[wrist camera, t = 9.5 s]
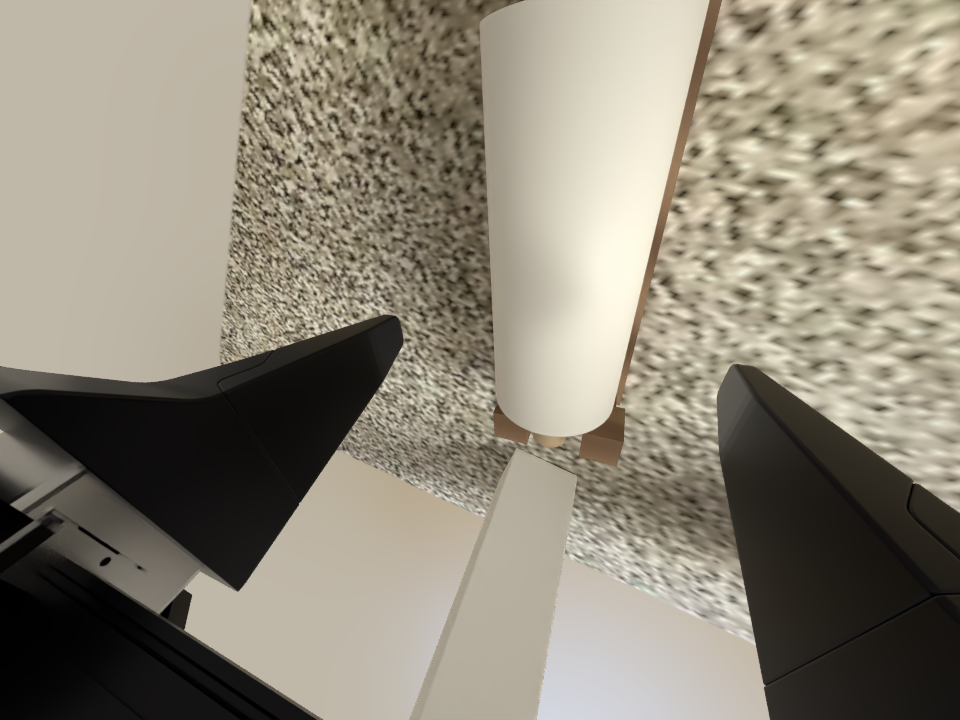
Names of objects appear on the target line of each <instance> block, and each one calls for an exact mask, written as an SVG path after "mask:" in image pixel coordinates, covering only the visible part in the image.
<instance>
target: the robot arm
mask: <svg viewBox="0 0 960 720" xmlns="http://www.w3.org/2000/svg"><path fill="white" fill-rule="evenodd" d="M403 341H404V339H403V334H402V330H401V325H400V321H399V319H398V317H396V316H393V315H381V316H378V317H375V318H372V319H369V320H366V321H363V322H359V323H356V324H353V325H350V326H347V327H344V328H340V329H337V330H334V331H331V332H328V333H325V334H322V335H318V336H315V337H312V338H309V339H306V340H303V341H300V342H296V343H293V344H290V345H287V346H284V347H281V348H278V349H276V350H271V351H268V352H265V353H262V354H258V355H255V356H252V357H249V358H245V359H242V360H239V361H235V362H232V363H228V364H225V365H221V366H217V367H214V368H210V369H207V370H203V371H199V372H195V373H192V374H189V375H185V376H181V377H177V378H174V379H169V380H165V381H158V382H147V383H143V382H141V383H140V382H127V381H118V380H109V379H100V378H91V377H82V376H73V375H64V374H54V373H46V372H37V371H29V370H21V369H14V368H7V367H2V366H0V429H1V430H2V431H4V432H3V433H1V434H0V720H323V719H321V718H320V717H318V716H316V715H315V714H313V713H311V712H310V711H309V710H307V709H305V708H304V707H302V706H301V705H299V704H298V703H296V702H295V701H293V700H292V699H290V698H288V697H287V696H285V695H284V694H282V693H281V692H279V691H278V690H276V689H275V688H273V687H271V686H270V685H268V684H266V683H265V682H264V681H262V680H261V679H259V678H257V677H256V676H254V675H253V674H251V673H250V672H248V671H247V670H245V669H243V668H242V667H240V666H239V665H237V664H236V663H234V662H233V661H231V660H229V659H228V658H226V657H225V656H223V655H222V654H220V653H218V652H217V651H215V650H214V649H212V648H210V647H209V646H208V645H206V644H205V643H203V642H201V641H200V640H198V639H197V638H195V637H194V636H192V635H190V634H189V633H187V632H186V631H184V629H185V625H186V620H187V615H188V611H189V607H190V602H191V598H192V595H191V594H190V593H189V592H187V591H186V590H184V588H185V587H186V586H187V585H188V584H189V583H190V582H191V580H192V579H193V578H194V577H195V576H196V575H197V574H198V573H199V572H202V573H204V574H206V575H208V576H210V577H211V578H213V579H215V580H217V581H219V582H221V583H222V584H224V585H226V586H228V587H230V588H232V589H233V590H235V591H239V590H240V589H241V588H242V587H243V585H244V584H245V583H246V582H247V580H248V579H249V577H250V576H251V574H252V573H253V571H254V570H255V568H256V567H257V566H258V564H259V562H260V561H261V559H262V558H263V557H264V555H265V554H266V552H267V551H268V549H269V548H270V546H271V545H272V544H273V542H274V541H275V539H276V538H277V536H278V535H279V533H280V532H281V530H282V529H283V527H284V526H285V525H286V523H287V522H288V520H289V518H290V517H291V516H292V514H293V513H294V511H295V510H296V509H297V507H298V506H299V503H300V502H301V501H302V499H303V498H304V496H305V495H306V494H307V492H308V491H309V489H310V487H311V486H312V485H313V483H314V482H315V480H316V479H317V477H318V476H319V474H320V473H321V472H322V470H323V469H324V467H325V466H326V464H327V463H328V461H329V460H330V458H331V457H332V456H333V454H334V453H335V451H336V450H337V448H338V447H339V445H340V444H341V442H342V441H343V440H344V438H345V437H346V435H347V434H348V432H349V431H350V429H351V428H352V426H353V425H354V424H355V422H356V421H357V419H358V418H359V416H360V415H361V413H362V412H363V410H364V409H365V407H366V406H367V405H368V403H369V402H370V400H371V399H372V397H373V396H374V394H375V393H376V391H377V390H378V388H379V387H380V385H381V384H382V382H383V381H384V379H385V377H386V375H387V374H388V372H389V370H390V368H391V366H392V364H393V362H394V361H395V359H396V357H397V355H398V353H399V351H400V349H401V348H402V345H403ZM717 415H718V438H719V454H720V461H721V467H722V472H723V477H724V482H725V487H726V493H727V498H728V503H729V508H730V513H731V518H732V524H733V529H734V534H735V539H736V544H737V549H738V555H739V560H740V565H741V570H742V575H743V581H744V586H745V591H746V596H747V601H748V606H749V612H750V617H751V622H752V627H753V632H754V637H755V643H756V648H757V652H758V658H759V663H760V668H761V674H762V679H763V683H764V685H766V686H765V687H764V690H765V696H766V701H767V706H768V711H769V717H770V720H960V513H959V512H957V511H956V510H955V509H953V508H952V507H950V506H949V505H947V504H946V503H944V502H943V501H942V500H940V499H939V498H938V497H936V496H935V495H933V494H932V493H931V492H929V491H928V490H926V489H925V488H924V487H922V486H921V485H919V484H916V483H915V484H913V480H912V479H911V478H910V477H908V476H907V475H905V474H904V473H903V472H901V471H900V470H898V469H897V468H896V467H894V466H893V465H891V464H890V463H889V462H887V461H886V460H884V459H883V458H882V457H880V456H879V455H877V454H876V453H875V452H873V451H872V450H870V449H869V448H868V447H866V446H865V445H863V444H862V443H861V442H859V441H858V440H856V439H855V438H854V437H852V436H851V435H849V434H848V433H847V432H845V431H844V430H842V429H841V428H840V427H838V426H837V425H835V424H834V423H833V422H831V421H830V420H828V419H827V418H826V417H824V416H823V415H822V414H820V413H819V412H817V411H816V410H815V409H813V408H812V407H810V406H809V405H808V404H806V403H805V402H803V401H802V400H801V399H799V398H798V397H796V396H795V395H794V394H792V393H791V392H789V391H788V390H787V389H785V388H784V387H782V386H781V385H780V384H778V383H777V382H775V381H774V380H773V379H771V378H770V377H768V376H767V375H766V374H764V373H763V372H761V371H760V370H759V369H757V368H756V367H753V366H748V365H741V364H733V365H732V366H731V367H730V368H729V370H728V372H727V374H726V376H725V378H724V380H723V382H722V384H721V387H720V389H719V391H718V395H717Z"/></svg>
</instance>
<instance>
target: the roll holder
mask: <svg viewBox="0 0 960 720" xmlns="http://www.w3.org/2000/svg"><path fill="white" fill-rule="evenodd" d="M521 1H524V0H521ZM721 2H722V0H710V1H709V5H708V9H707V13H706V18H705V22H704V26H703V30H702V35H701V39H700V43H699V47H698V51H697V56H696V60H695V64H694V68H693V73H692V77H691V81H690V85H689V89H688V94H687V98H686V102H685V106H684V111H683V115H682V119H681V123H680V127H679V132H678V136H677V140H676V144H675V149H674V153H673V157H672V161H671V165H670V170H669V174H668V178H667V182H666V187H665V191H664V195H663V199H662V203H661V208H660V212H659V216H658V220H657V225H656V229H655V233H654V237H653V241H652V246H651V250H650V254H649V258H648V263H647V267H646V271H645V275H644V279H643V284H642V288H641V292H640V296H639V301H638V305H637V309H636V313H635V317H634V322H633V326H632V330H631V334H630V339H629V343H628V347H627V351H626V355H625V360H624V364H623V368H622V372H621V377H620V381H619V385H618V389H617V393H616V398H615V402H614V406H613V410H612V412H611V414H610V416H609V418H608V419H607V420H606V421H605V422H604V423H603V424H602V425H600V426H599V427H597V428H596V429H594V430H592V431H589V432H587V433H584V434H583V436H582V441H581V447H580V453H579V457H581V458H585V459H589V460H593V461H597V462H601V463H605V464H609V465H613V466H617V463H618V459H619V456H620V453H621V449H622V446H623V442H624V423H625V409H624V408H619V407H616V405H620V402H621V398H622V394H623V390H624V386H625V382H626V378H627V374H628V370H629V366H630V362H631V358H632V354H633V350H634V346H635V343H636V339H637V335H638V331H639V327H640V323H641V319H642V315H643V311H644V307H645V303H646V299H647V295H648V291H649V287H650V283H651V279H652V275H653V271H654V267H655V263H656V259H657V255H658V251H659V247H660V244H661V240H662V236H663V232H664V228H665V224H666V220H667V216H668V212H669V208H670V204H671V200H672V196H673V192H674V188H675V184H676V180H677V176H678V172H679V168H680V164H681V160H682V156H683V152H684V148H685V145H686V141H687V137H688V133H689V129H690V125H691V121H692V117H693V113H694V109H695V105H696V101H697V97H698V93H699V89H700V85H701V81H702V77H703V73H704V69H705V65H706V61H707V57H708V53H709V50H710V46H711V42H712V38H713V34H714V30H715V26H716V22H717V18H718V14H719V10H720V6H721ZM493 414H494V433H495V436H497V437H501V438H505V439H509V440H513V441H517V442H521V443H525V444H527V442H528V439H529V436H530V433H531V431H528V430H526V429H524V428H522V427H520V426H518V425H517V424H515V423H514V422H512V421H511V420H510V419H509V418H508V417H507V416H506V415H505V414H504V413H503V411H502V410H501V409H500V407H499V405H498V404H497V406H496V408H495V410H494V412H493Z"/></svg>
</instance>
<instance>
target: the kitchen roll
mask: <svg viewBox="0 0 960 720" xmlns="http://www.w3.org/2000/svg"><path fill="white" fill-rule="evenodd" d="M709 1H710V0H524V1H521V2H518V3H515V4H512V5H509V6H507V7H504V8H501V9H499V10H497V11H495V12H493V13H491V14H489V15H488V16H486V17H485V18H484V19H483V20H482V21H481V22H480V49H481V71H482V93H483V115H484V137H485V159H486V181H487V203H488V225H489V247H490V269H491V291H492V313H493V336H494V358H495V380H496V398H497V402H498V405H499V407H500V409H501V410H502V411H503V413H504V414H505V415H506V416H507V417H508V418H509V419H510V420H511V421H512V422H514V423H515V424H517V425H518V426H520V427H522V428H524V429H526V430H528V431H531V432H533V436H534V439H535V440H536V441H537V442H538V443H539V444H540V445H542V446H545V447H558V446H560V445H562V444H563V443H564V441H565V439H566V436H575V435H580V434H584V433H587V432H589V431H592V430H594V429H596V428H597V427H599V426H600V425H602V424H603V423H604V422H605V421H606V420H607V419H608V418H609V416H610V414H611V412H612V410H613V406H614V402H615V398H616V393H617V389H618V385H619V381H620V377H621V372H622V368H623V364H624V360H625V355H626V351H627V347H628V343H629V339H630V334H631V330H632V326H633V322H634V317H635V313H636V309H637V305H638V301H639V296H640V292H641V288H642V284H643V279H644V275H645V271H646V267H647V263H648V258H649V254H650V250H651V246H652V241H653V237H654V233H655V229H656V225H657V220H658V216H659V212H660V208H661V203H662V199H663V195H664V191H665V187H666V182H667V178H668V174H669V170H670V165H671V161H672V157H673V153H674V149H675V144H676V140H677V136H678V132H679V127H680V123H681V119H682V115H683V111H684V106H685V102H686V98H687V94H688V89H689V85H690V81H691V77H692V73H693V68H694V64H695V60H696V56H697V51H698V47H699V43H700V39H701V35H702V30H703V26H704V22H705V18H706V13H707V9H708V5H709Z"/></svg>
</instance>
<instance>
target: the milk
mask: <svg viewBox="0 0 960 720" xmlns="http://www.w3.org/2000/svg"><path fill="white" fill-rule="evenodd" d="M576 483H577V476H576V475H574V474H572V473H570V472H568V471H566V470H564V469H561V468H559V467H557V466H555V465H553V464H551V463H549V462H546V461H544V460H542V459H540V458H538V457H536V456H534V455H531V454H529V453H527V452H525V451H523V450H521V449H519V448H516V449H515V451H514V453H513V455H512V457H511V459H510V461H509V463H508V464H507V466H506V468H505V470H504V472H503V474H502V476H501V477H500V479H499V482H498V485H497V487H496V490H495V493H494V495H493V498H492V501H491V503H490V506H489V509H488V511H487V514H486V517H485V519H484V522H483V525H482V527H481V530H480V533H479V536H478V538H477V541H476V543H475V546H474V549H473V551H472V554H471V557H470V559H469V562H468V565H467V568H466V570H465V573H464V576H463V578H462V581H461V583H460V586H459V589H458V591H457V594H456V597H455V599H454V602H453V605H452V607H451V610H450V613H449V615H448V618H447V621H446V623H445V626H444V629H443V631H442V634H441V637H440V639H439V642H438V645H437V647H436V650H435V653H434V655H433V658H432V661H431V663H430V667H429V669H428V672H427V674H426V677H425V679H424V682H423V685H422V687H421V690H420V693H419V696H418V698H417V701H416V703H415V706H414V709H413V712H412V714H411V717H410V720H536V719H537V713H538V707H539V701H540V695H541V690H542V684H543V678H544V672H545V666H546V660H547V654H548V648H549V642H550V637H551V630H552V625H553V619H554V613H555V607H556V601H557V595H558V589H559V583H560V577H561V572H562V566H563V560H564V554H565V548H566V542H567V536H568V530H569V524H570V519H571V513H572V507H573V501H574V495H575V489H576Z"/></svg>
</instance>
